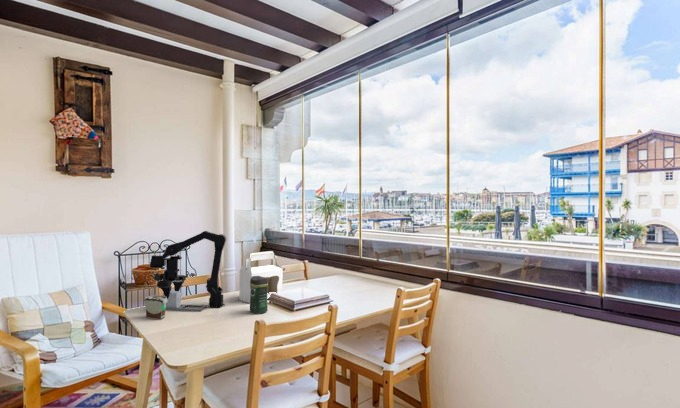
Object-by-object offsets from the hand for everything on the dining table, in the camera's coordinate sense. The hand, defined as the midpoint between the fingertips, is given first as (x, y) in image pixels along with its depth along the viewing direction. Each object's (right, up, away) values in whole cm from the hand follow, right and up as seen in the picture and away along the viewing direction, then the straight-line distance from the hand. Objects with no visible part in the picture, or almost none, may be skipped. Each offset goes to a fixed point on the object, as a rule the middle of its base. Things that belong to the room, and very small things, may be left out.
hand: (171, 296), depth 195 cm
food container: (0, -6, -15) cm, 16 cm away
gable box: (+43, -7, +23) cm, 49 cm away
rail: (+6, -6, -1) cm, 9 cm away
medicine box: (0, -6, 0) cm, 6 cm away
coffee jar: (+48, -7, -4) cm, 48 cm away
